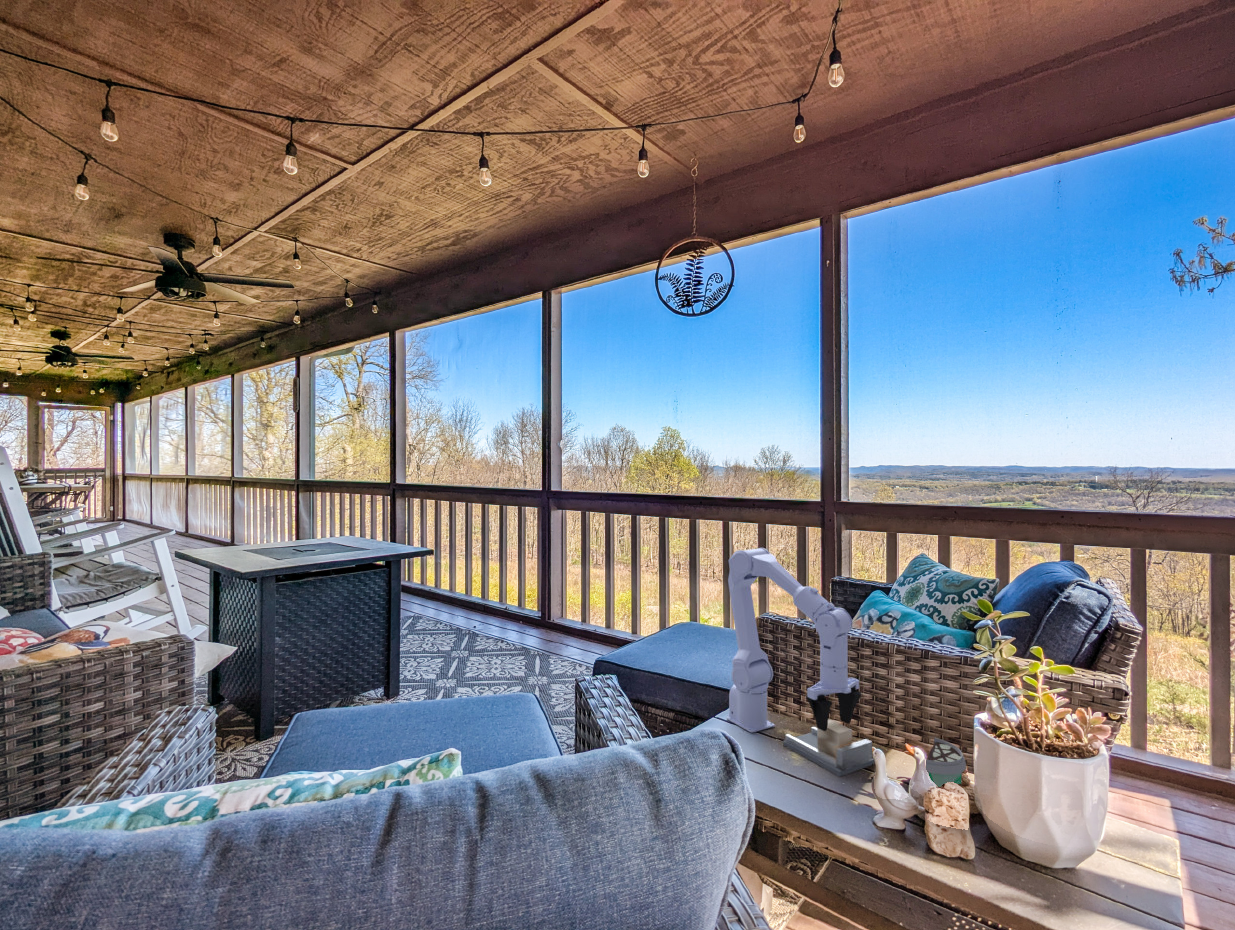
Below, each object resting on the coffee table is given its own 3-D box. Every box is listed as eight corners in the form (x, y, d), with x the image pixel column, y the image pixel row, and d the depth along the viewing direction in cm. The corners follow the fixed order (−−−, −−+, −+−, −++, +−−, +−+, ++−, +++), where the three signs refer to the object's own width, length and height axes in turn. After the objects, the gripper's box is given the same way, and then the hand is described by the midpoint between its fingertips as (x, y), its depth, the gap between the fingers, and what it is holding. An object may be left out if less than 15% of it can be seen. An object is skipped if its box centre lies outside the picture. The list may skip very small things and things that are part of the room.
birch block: (817, 749, 128) (817, 722, 128) (829, 745, 130) (829, 719, 130) (839, 761, 123) (839, 733, 123) (851, 757, 125) (851, 729, 125)
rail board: (783, 745, 133) (783, 723, 133) (816, 735, 138) (816, 714, 138) (839, 776, 119) (839, 752, 119) (874, 764, 124) (874, 740, 124)
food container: (962, 827, 102) (962, 770, 102) (924, 814, 105) (923, 759, 106) (970, 796, 111) (969, 745, 112) (934, 786, 115) (934, 736, 115)
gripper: (825, 674, 120) (825, 739, 120) (870, 664, 127) (870, 725, 127) (800, 665, 126) (799, 726, 126) (844, 655, 133) (844, 714, 133)
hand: (833, 725), depth 127 cm, fingers open, 7 cm apart
